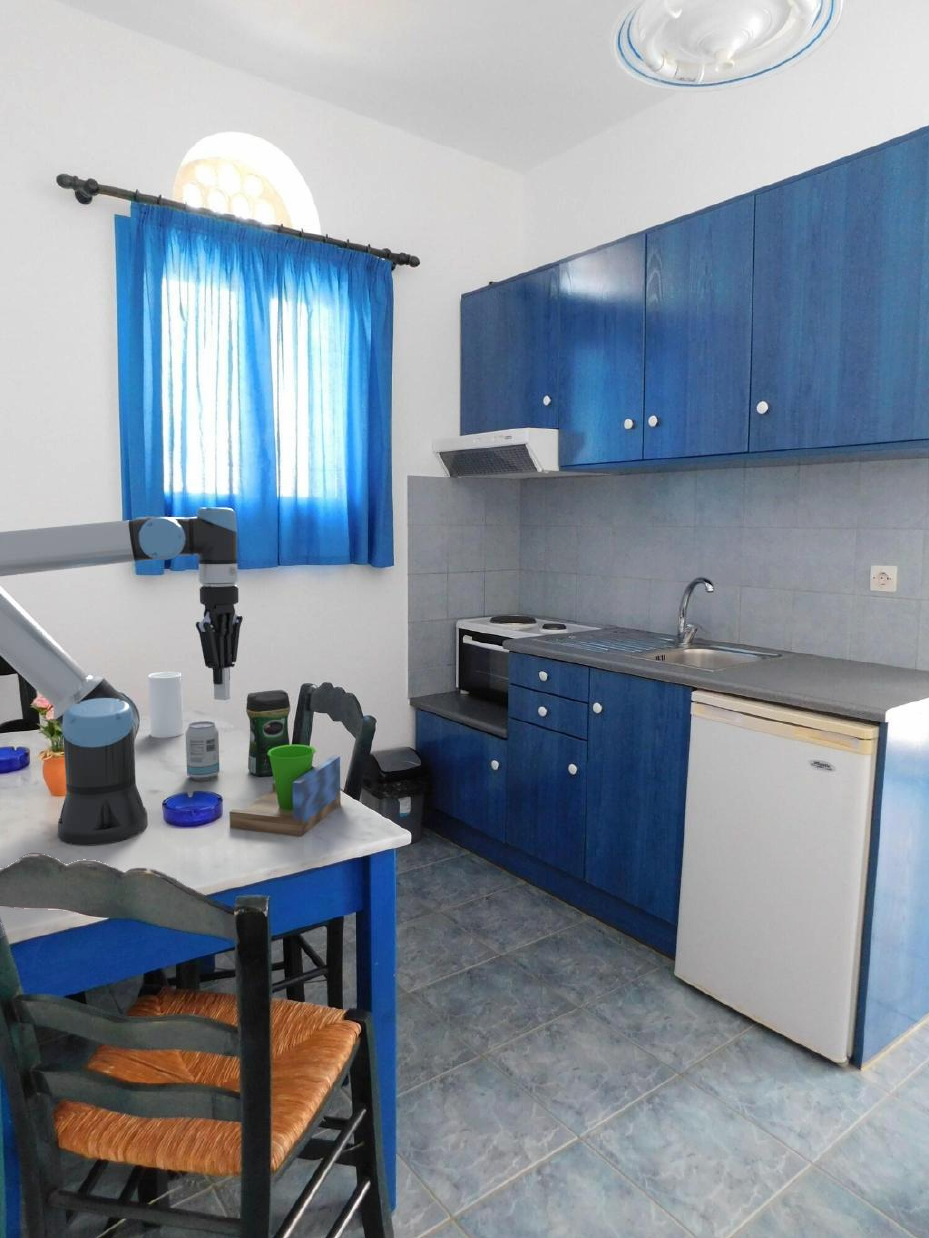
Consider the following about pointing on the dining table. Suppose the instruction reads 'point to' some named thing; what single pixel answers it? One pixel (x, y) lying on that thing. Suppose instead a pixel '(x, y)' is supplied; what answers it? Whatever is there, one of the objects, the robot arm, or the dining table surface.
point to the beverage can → (202, 750)
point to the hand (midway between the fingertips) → (222, 698)
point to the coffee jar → (266, 727)
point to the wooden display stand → (294, 803)
